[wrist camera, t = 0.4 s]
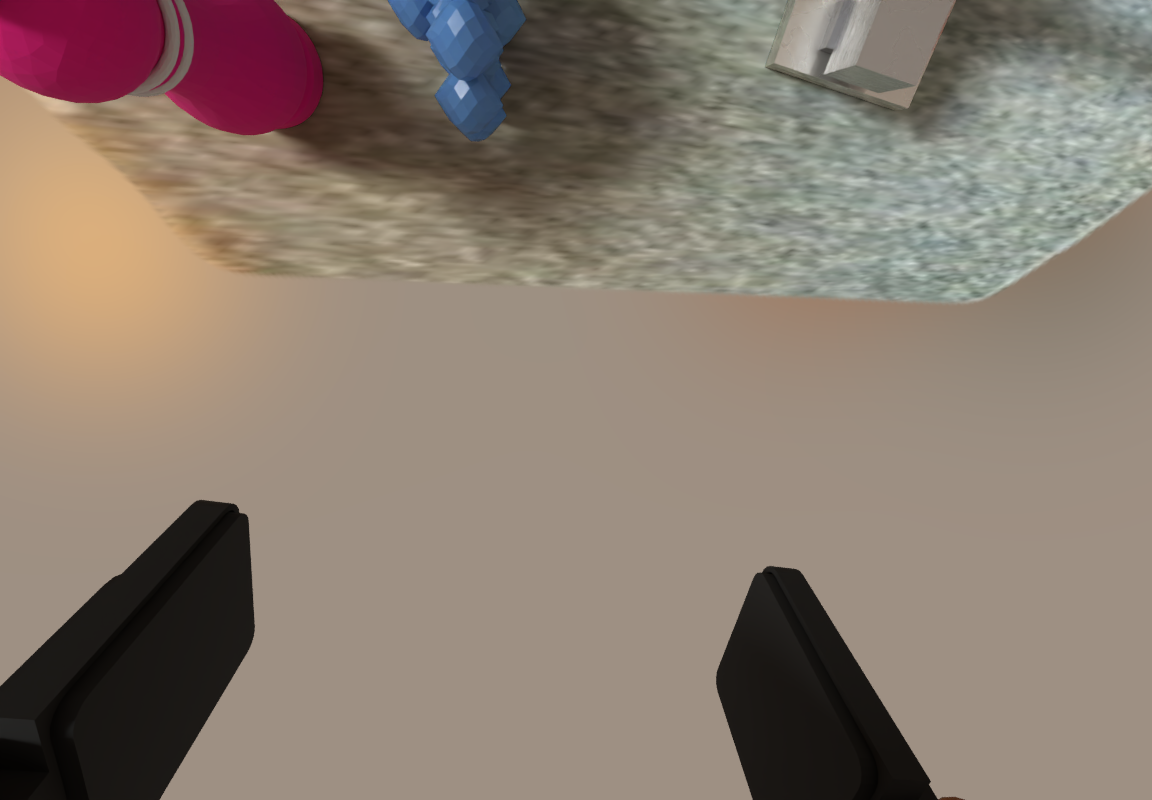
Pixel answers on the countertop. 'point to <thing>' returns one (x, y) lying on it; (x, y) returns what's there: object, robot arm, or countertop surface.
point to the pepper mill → (167, 57)
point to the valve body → (860, 45)
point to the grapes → (466, 55)
